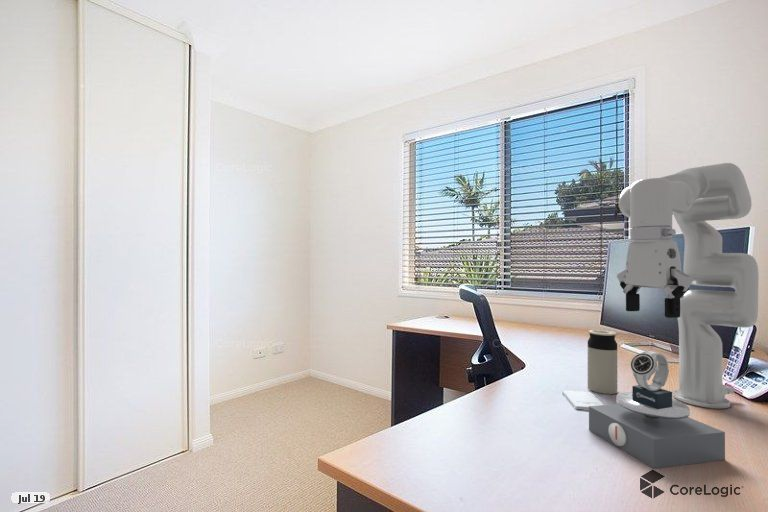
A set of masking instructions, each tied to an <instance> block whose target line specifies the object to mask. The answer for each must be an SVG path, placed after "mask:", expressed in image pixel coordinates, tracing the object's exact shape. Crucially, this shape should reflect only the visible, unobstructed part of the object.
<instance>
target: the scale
mask: <svg viewBox="0 0 768 512" xmlns="http://www.w3.org/2000/svg"><path fill="white" fill-rule="evenodd" d="M588 431H590V432H592V433H593V432H594V433H593V434H595V435H597V436H598V435H599V437H601V438H602V439H603V440H606V441H607V442H609V443H611V445H614V446H615V447H617V448H619V449H621V450H622V451H624V452H625V453H628V454H629V455H630V456H632V457H634V458H635V459H638V461H641V463H642V462H643V463H644V464H646V465H647V466H648V467H651V468H652V469H661V468H670V467H677V466H678V467H679V466H685V465H686V466H687V465H693V464H694V465H695V464H703V463H710V462H718V461H725V460H726V431H723V430H721V429H719V428H716V427H713V426H711V425H709V424H706V423H703V422H700V421H698V420H696V419H693V418H691V417H690V416H689V417H687V418H683V419H665V418H659V419H653V418H648V417H646V416H644V415H642V414H639V413H636V412H633V411H630V410H628V409H625V408H623V407H622V406H620V405H619V404H618V403H615V404H614V403H613V404H604V405H599V406H589V410H588Z"/></svg>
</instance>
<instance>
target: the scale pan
mask: <svg viewBox="0 0 768 512" xmlns="http://www.w3.org/2000/svg"><path fill="white" fill-rule="evenodd" d="M615 398H616V401H615V402H616V404H619V405H620V406H622V407H623V408H625V409H628V410H630V411H633V412H636V413H639V414H642V415H644V416H646V417H648V418H653V419H659V418H665V419H683V418H687V417H689V418H690V415H691V409H690V407H689V406H688V405H687V404H685V403H684V402H682V401H680V400H678V399H675V398H674V399H673V398H672V407H668V408H663V409H656V408H653V407H650V406H647V405H644V404H642V403H639V402H636V401H633V397H632V391H624V392H619V393H617V394H616V397H615Z"/></svg>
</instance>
